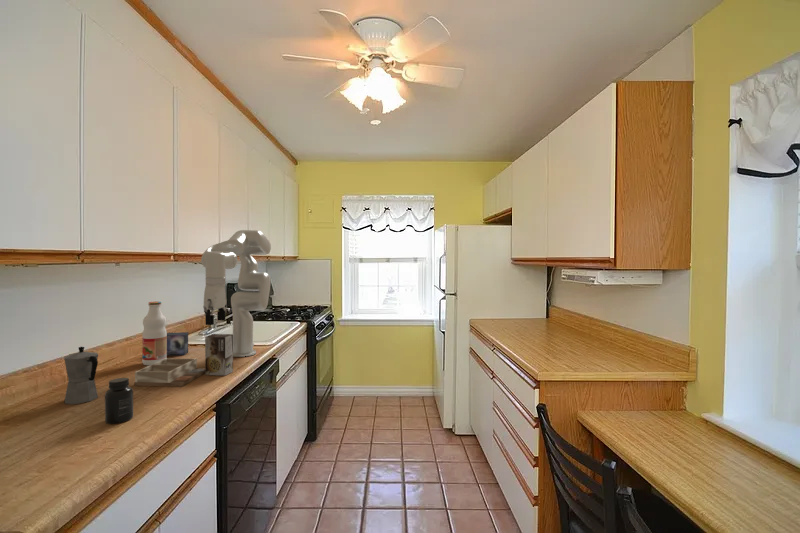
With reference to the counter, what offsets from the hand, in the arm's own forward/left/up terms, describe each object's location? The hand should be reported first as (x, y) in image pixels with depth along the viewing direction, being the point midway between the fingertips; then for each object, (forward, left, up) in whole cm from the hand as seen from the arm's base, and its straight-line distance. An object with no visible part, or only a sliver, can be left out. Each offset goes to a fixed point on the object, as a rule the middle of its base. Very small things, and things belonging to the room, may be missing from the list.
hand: (215, 322), depth 161 cm
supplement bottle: (+46, -7, -22) cm, 52 cm away
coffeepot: (+31, -30, -22) cm, 48 cm away
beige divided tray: (+6, -14, -22) cm, 26 cm away
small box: (-31, -35, -22) cm, 51 cm away
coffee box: (-1, +1, -22) cm, 22 cm away
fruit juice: (-15, -35, -22) cm, 43 cm away
